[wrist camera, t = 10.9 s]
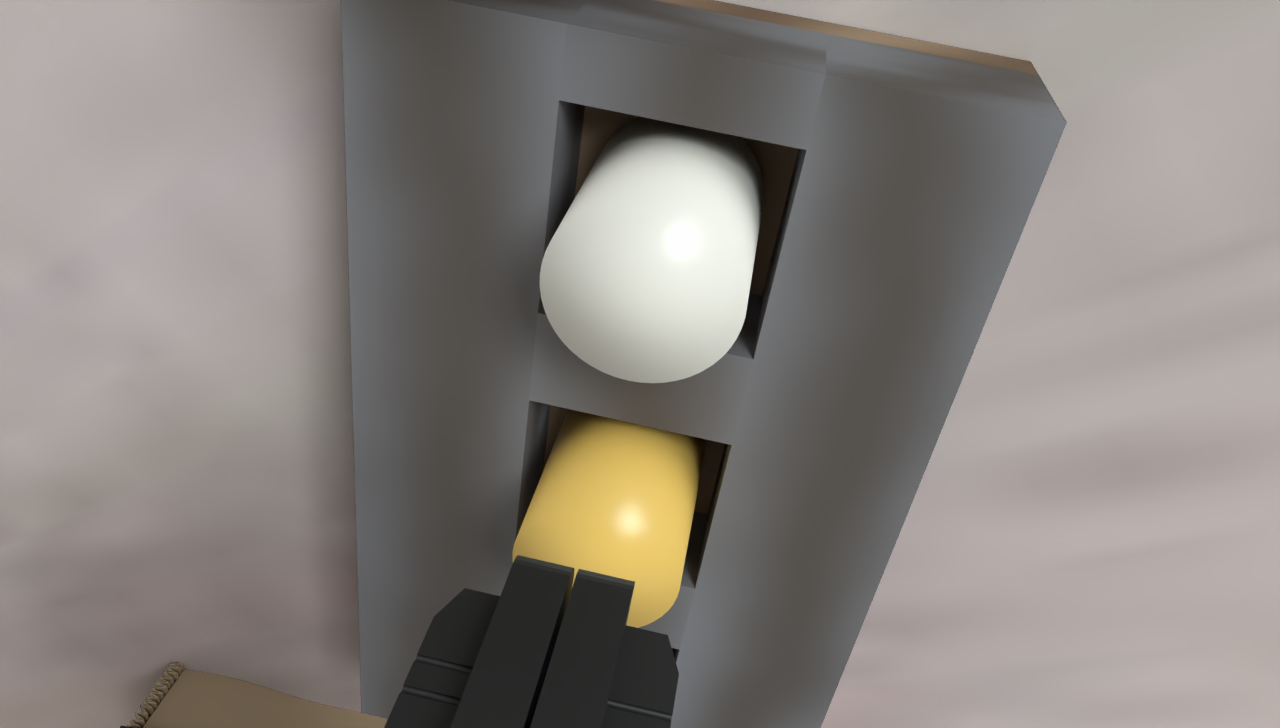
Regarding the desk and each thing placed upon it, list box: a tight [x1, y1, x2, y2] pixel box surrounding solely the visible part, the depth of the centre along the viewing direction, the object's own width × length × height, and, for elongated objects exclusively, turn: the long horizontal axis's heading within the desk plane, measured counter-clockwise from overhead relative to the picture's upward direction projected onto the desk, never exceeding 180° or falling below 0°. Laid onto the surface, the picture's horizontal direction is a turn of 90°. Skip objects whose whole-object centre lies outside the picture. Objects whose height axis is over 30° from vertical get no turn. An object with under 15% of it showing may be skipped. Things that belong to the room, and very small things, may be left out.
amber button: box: [513, 409, 705, 628], centre depth 25 cm, size 4×4×5 cm
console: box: [341, 0, 1067, 728], centre depth 26 cm, size 14×23×4 cm, turn 172°
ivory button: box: [540, 116, 764, 383], centre depth 20 cm, size 4×4×5 cm
